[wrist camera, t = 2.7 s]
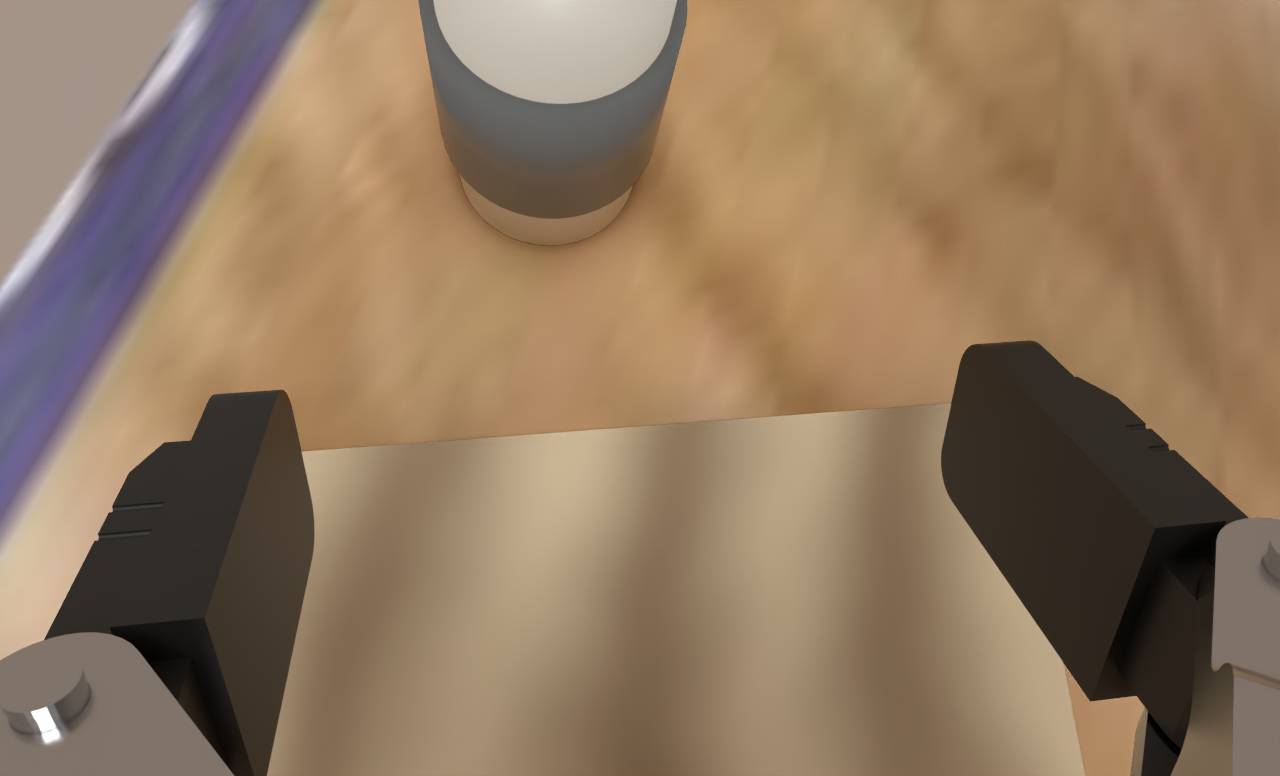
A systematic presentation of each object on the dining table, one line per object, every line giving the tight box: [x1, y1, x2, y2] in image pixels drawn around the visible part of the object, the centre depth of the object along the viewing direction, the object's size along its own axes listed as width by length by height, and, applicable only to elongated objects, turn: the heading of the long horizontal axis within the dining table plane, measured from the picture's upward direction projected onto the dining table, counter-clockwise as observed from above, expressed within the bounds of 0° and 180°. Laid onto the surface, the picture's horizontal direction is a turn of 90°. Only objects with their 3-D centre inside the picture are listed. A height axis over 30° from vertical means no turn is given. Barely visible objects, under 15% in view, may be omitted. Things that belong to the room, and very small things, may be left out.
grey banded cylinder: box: [419, 0, 687, 246], centre depth 23 cm, size 6×6×9 cm
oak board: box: [267, 403, 1085, 776], centre depth 24 cm, size 20×11×1 cm, turn 96°
